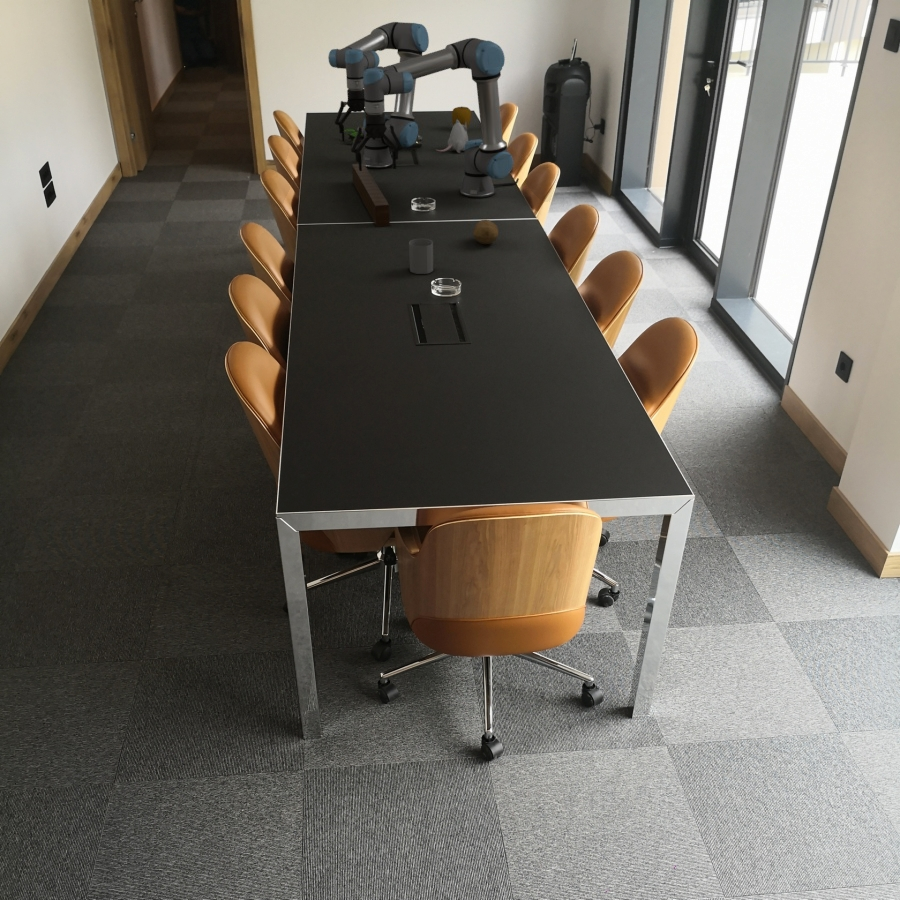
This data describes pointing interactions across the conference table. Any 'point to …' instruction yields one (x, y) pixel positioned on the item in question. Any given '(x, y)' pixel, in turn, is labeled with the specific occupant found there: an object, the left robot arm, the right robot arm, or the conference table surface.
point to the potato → (485, 232)
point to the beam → (371, 196)
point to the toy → (457, 138)
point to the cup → (421, 256)
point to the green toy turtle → (352, 136)
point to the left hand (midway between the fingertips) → (358, 140)
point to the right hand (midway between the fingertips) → (377, 169)
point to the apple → (461, 115)
